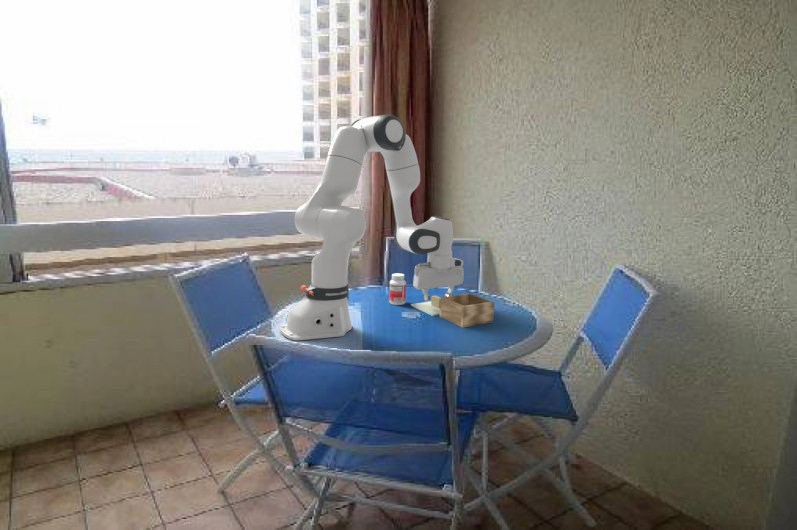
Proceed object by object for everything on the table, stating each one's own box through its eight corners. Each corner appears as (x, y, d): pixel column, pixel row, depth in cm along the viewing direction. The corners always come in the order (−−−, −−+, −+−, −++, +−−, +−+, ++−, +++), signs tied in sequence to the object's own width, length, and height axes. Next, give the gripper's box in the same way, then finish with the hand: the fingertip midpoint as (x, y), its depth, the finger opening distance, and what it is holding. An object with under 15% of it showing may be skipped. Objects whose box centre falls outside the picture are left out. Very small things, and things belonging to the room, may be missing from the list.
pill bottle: (398, 300, 196) (399, 272, 194) (408, 303, 192) (409, 275, 190) (385, 302, 193) (386, 274, 190) (396, 306, 188) (396, 277, 186)
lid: (432, 317, 178) (432, 304, 177) (410, 307, 190) (411, 295, 189) (464, 312, 185) (464, 299, 184) (441, 302, 197) (442, 290, 196)
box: (462, 327, 166) (463, 306, 165) (439, 316, 177) (440, 297, 175) (493, 322, 173) (494, 302, 171) (469, 311, 183) (470, 293, 182)
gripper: (420, 265, 176) (418, 304, 179) (467, 260, 186) (465, 297, 189) (410, 262, 181) (409, 299, 184) (456, 257, 191) (454, 293, 194)
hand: (437, 298), depth 186 cm, fingers open, 8 cm apart
